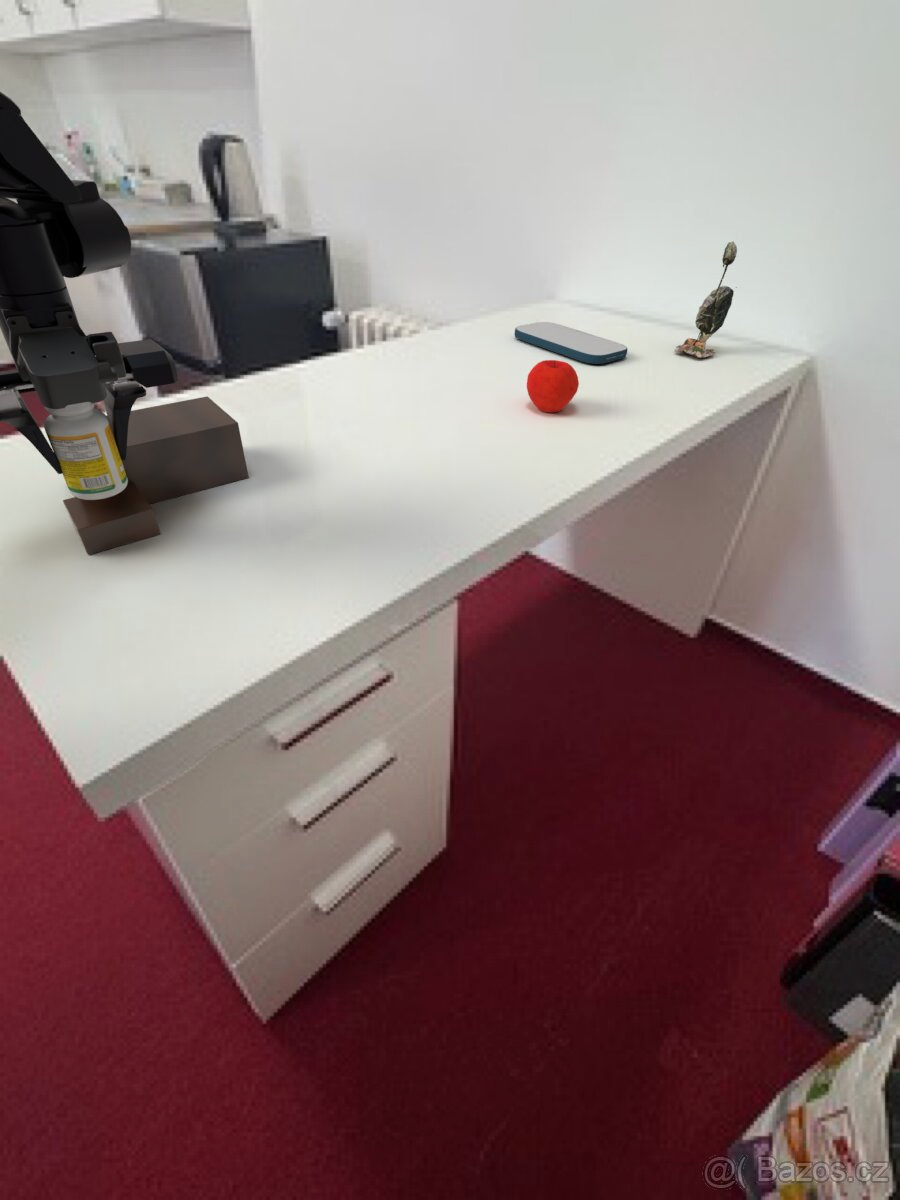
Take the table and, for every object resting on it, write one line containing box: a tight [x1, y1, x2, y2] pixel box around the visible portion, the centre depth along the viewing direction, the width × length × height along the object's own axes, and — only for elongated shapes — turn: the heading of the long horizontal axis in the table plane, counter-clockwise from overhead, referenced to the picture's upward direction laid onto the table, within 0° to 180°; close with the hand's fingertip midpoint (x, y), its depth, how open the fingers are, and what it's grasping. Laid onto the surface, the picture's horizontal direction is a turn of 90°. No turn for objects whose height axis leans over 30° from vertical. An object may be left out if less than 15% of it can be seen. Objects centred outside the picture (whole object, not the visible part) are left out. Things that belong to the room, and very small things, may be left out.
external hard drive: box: [514, 321, 628, 365], centre depth 120 cm, size 24×12×2 cm, turn 39°
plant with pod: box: [674, 240, 738, 359], centre depth 115 cm, size 8×11×20 cm
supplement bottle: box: [43, 402, 128, 500], centre depth 57 cm, size 5×5×10 cm
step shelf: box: [62, 395, 250, 556], centre depth 67 cm, size 20×17×7 cm
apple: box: [526, 359, 580, 413], centre depth 92 cm, size 8×8×7 cm
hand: (91, 465), depth 58 cm, fingers closed on supplement bottle, 5 cm apart
